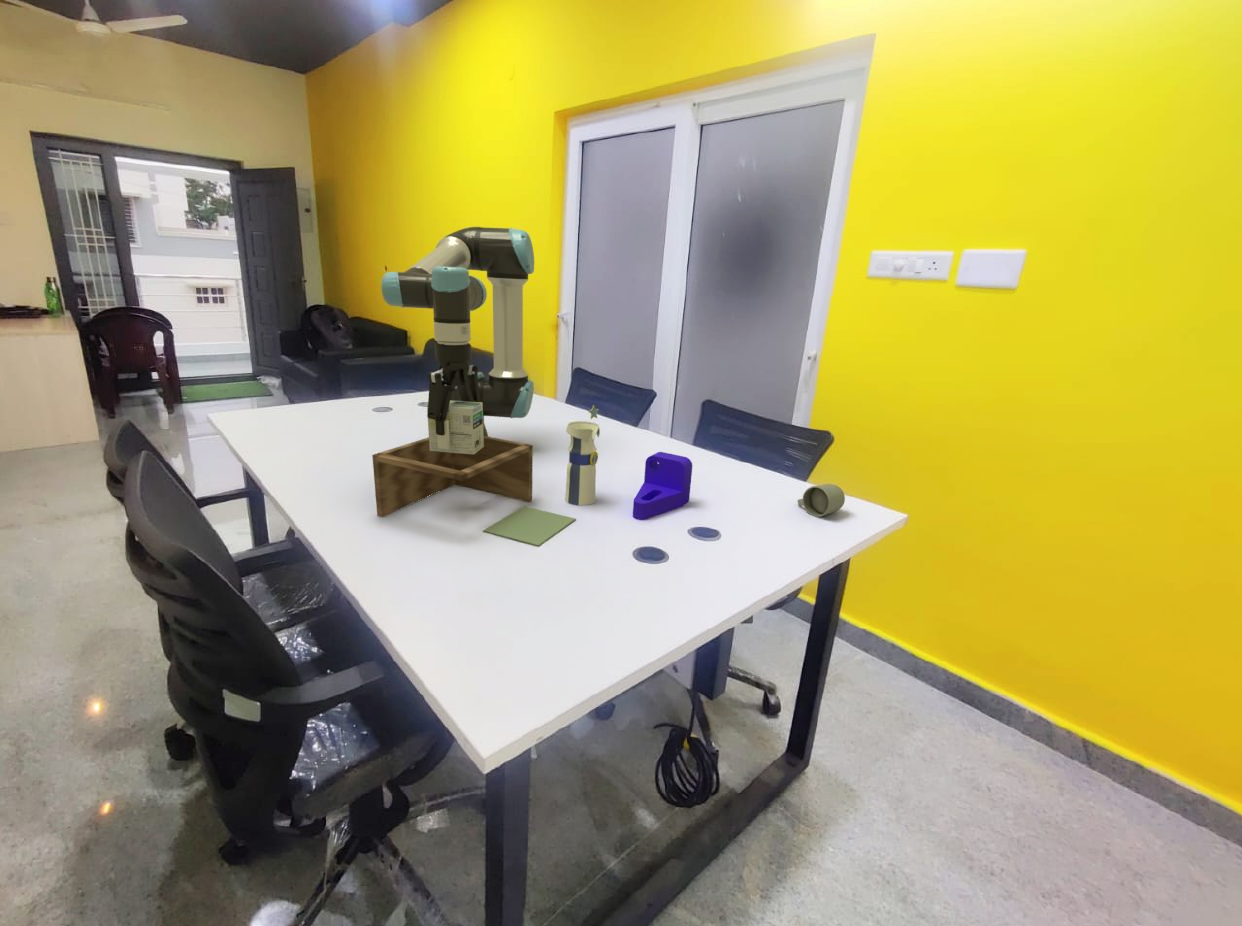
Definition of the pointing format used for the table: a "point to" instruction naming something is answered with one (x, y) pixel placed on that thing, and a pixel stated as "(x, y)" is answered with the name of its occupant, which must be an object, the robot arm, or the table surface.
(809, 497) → the ceramic mug
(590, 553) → the table surface
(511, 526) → the mat
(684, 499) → the bracket
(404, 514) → the table surface
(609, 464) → the table surface
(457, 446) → the light bulb box
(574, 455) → the belted robe figure
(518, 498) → the open wooden box frame
